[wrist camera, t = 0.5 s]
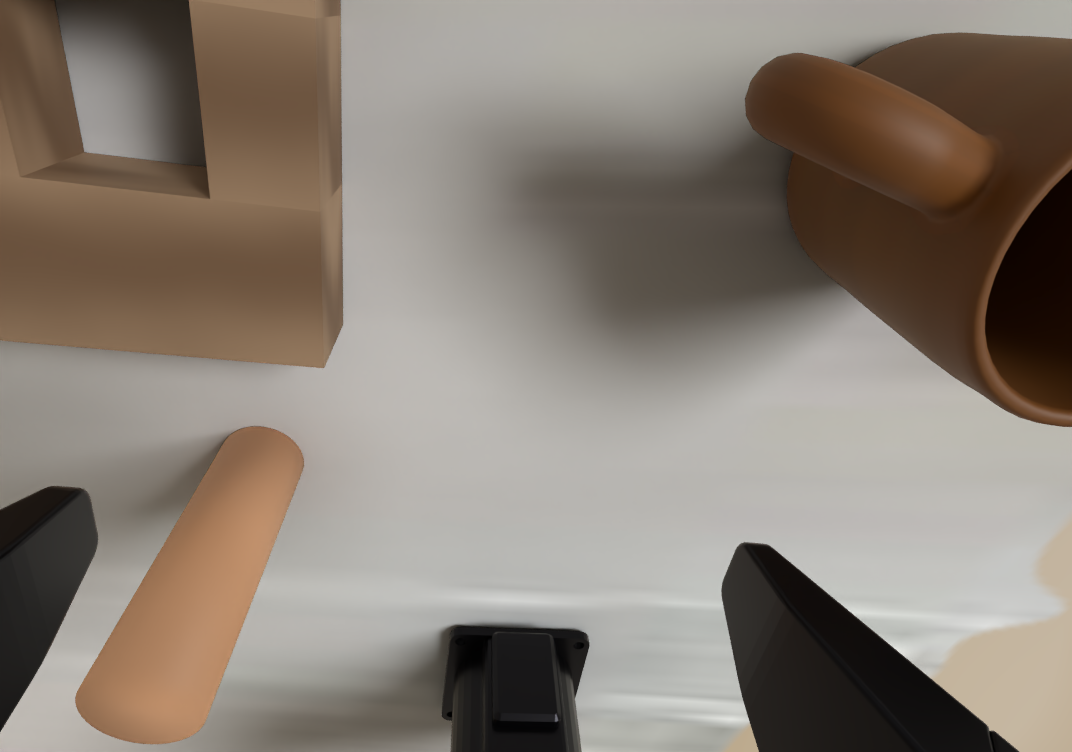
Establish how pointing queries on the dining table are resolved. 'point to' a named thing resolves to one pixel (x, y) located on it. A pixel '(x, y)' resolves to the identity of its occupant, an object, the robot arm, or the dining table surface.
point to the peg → (194, 596)
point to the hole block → (180, 197)
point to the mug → (942, 199)
